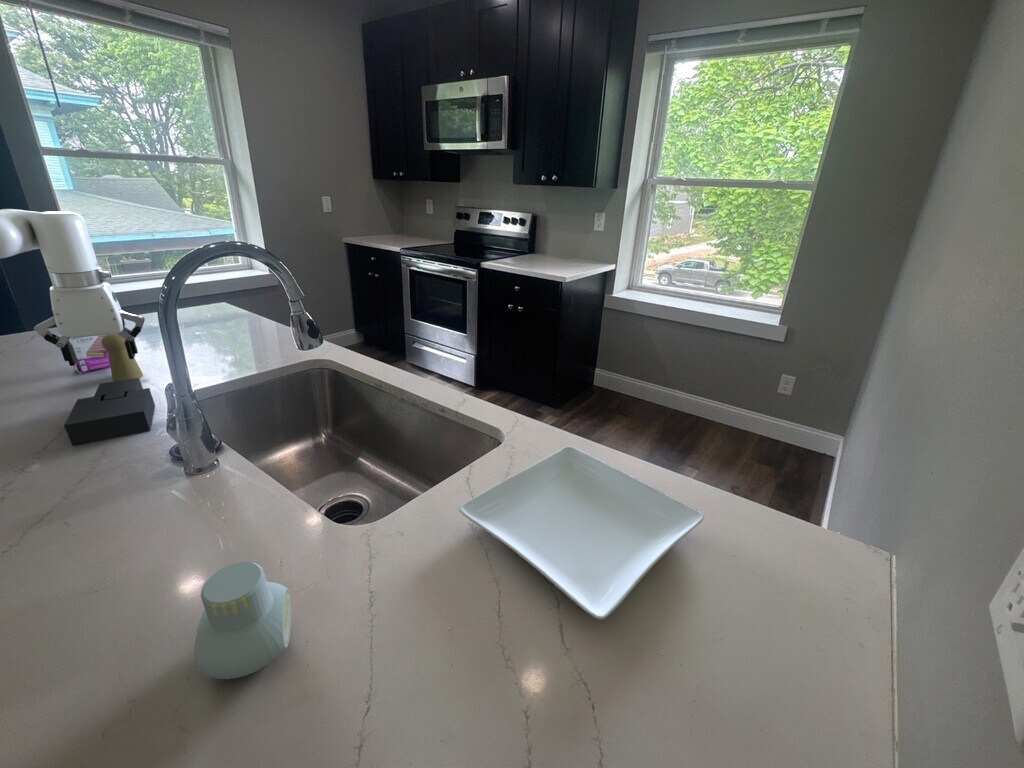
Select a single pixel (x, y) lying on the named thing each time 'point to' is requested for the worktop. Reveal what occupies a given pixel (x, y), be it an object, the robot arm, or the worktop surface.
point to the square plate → (583, 525)
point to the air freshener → (241, 622)
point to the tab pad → (117, 388)
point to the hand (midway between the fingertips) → (104, 360)
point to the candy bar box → (89, 353)
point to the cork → (120, 359)
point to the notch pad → (110, 417)
